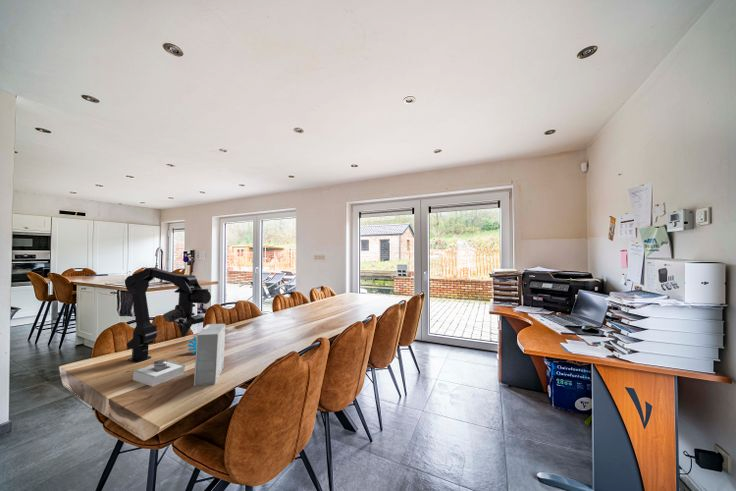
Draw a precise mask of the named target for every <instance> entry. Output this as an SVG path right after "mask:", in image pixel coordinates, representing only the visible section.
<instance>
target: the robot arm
mask: <svg viewBox="0 0 736 491" xmlns="http://www.w3.org/2000/svg"><path fill="white" fill-rule="evenodd" d="M154 279H158V280H161V281H166V282H169V283H170V284H171V283H172V284H173V285H174V286H175V287H177V289H176V290H174V293H176V294H177V293H178V302H177V303H178V304H176V305H175V306H174V309H171V310H169V311H167V312H165V313H163V315H162V316H163V318H164V322H168V323H174V324H176V325H177V326H178V329H179V332H180V335H181V337H183V338H184V337H186V335H187V334H188V332H189V330H190V329H191V327H192V326H193V325H197V324H200V323H205V317H204V316H203V315H199V314H197V315H195V312H193V309H194V307H196V304H200V305H201V304H203V305H205V304H206V305H207V304H209V303H210V301H211V298H212V294H211V292H210V291H209V288H202V285H201V284H200V283H199V281H198V279H197V276H196V275H193V274H178V273H176V272H175V273H174V272H172V271H168V270H164V269H160V268H157V267H147V268H145V269H143V270H141V271H138V272H136V273H133V274H132V275H129V276H127V277H126V278H125V279H124V285H125V289H126V291H127V292H128V293H129V294H131V296H132V297H131V298H132V304H133V311H134V318H135V325H136V326H135V328H134V330H133V332H132V338H131V339H130V340H129V341H128V342H127V343H126V348H127V349H131V357H130V358H127V361H129V362H132V363H139V362H142V361H146V360H148V359H152V356H150V355H149V348H150V346H149V345H150V344H154V341H155V339H156V338H157V336H158V333H159V331H158V327H157V324H153V323H152V322H151V321H150V319H151V318H150V312H149V306H148V300H147V290H148V289H149V286H150V284H149V283H150V282H151V281H153V280H154Z"/></svg>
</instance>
